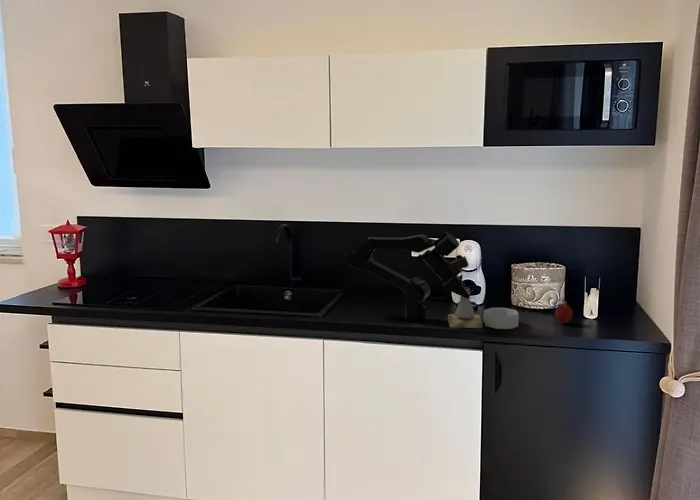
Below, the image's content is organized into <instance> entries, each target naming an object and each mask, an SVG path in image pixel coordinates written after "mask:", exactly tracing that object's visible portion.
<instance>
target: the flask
mask: <svg viewBox="0 0 700 500" xmlns="http://www.w3.org/2000/svg"><path fill="white" fill-rule="evenodd" d="M464 288H465V290H466V291H467V293H468V294H469V293H470V290H471V289H470V287H467V286H466V287H464ZM454 314H455V315H454V316H457V317H460V318H471V317H474V316H475V315H476V313H475V310H474V307H473V305H472V301H471V296H470V297H469V298H468V299H467V298H465V297H463V296H460V298H459V301H458V305H457V307H456V310H455V312H454Z"/></svg>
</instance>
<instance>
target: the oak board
mask: <svg viewBox="0 0 700 500" xmlns="http://www.w3.org/2000/svg"><path fill="white" fill-rule="evenodd" d="M454 315H455V313H451V314H447V321H448V325H449V327H450V328H459V329H460V328H463V329H465V328H467V329H470V328H472V329H483V323H484V321H483V320H482V318H481V317H480V314H475V316H474V317H471V318H460V317H457V316H454Z"/></svg>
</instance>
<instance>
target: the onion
mask: <svg viewBox="0 0 700 500" xmlns="http://www.w3.org/2000/svg"><path fill="white" fill-rule="evenodd" d="M573 312H574V311H573V310H572V308H571V306H569V305H568V303H567V301H564V302H562V303H561V304H559V306H558V307H557V308H556V309H555V311H554V315H555V319H556V320H557V321H559V322H560V323H561V325H562V324H563V325H565V324H567V323H568V322H570V321H571V320H572V318H573V316H574V314H573Z"/></svg>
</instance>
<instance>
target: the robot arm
mask: <svg viewBox="0 0 700 500" xmlns="http://www.w3.org/2000/svg"><path fill="white" fill-rule="evenodd" d="M459 246H460V243H459V241H458V240H457V238H456V237H455V236H453V235H452V234H450V233H449V232H448V231H444V232H443V233H441V235H440V236H439V238H437V239H433V238H429V236H427V235H426V234H423V233H422V234H417V235H411V236H407V237H376V236H372V237H368V238H366V240H365V241H364V242H363V244H362V245H360V246H359V247H358V248H357V249H356V250H355V251H353V252H351V253H350V254H349V255H348V257H347V262H348V266H350V267H351V268H354V269H357V270H360V271H364V272H369V273H371V274H373V275H375V276H377V277H379V278H381V279H382V280H384V281H385V282H388V283H390V284H392V286H393V285H394V286H395V287H397V288H400V289H401V290H402V291H403V292H404V294H405V295H406V296H405V297H404V298H403V299H402V301H403V305H404V306H405V317H404V318H405V322H407V323H408V322H410V323H411V322H412V323H413V322H414V323H415V322H416V323H417V322H418V323H424V322H425V319H426V306H425V305H424V302H425V301H426V299H427V298H428V297H429V296H430V295H431V287H430V285H429V284H428V283H427V280H424V279H421V278H420V277H418V276H415V277H412V278H408V277H407V276H405V275H403V274H400V273H399V272H397V271H395V270H393V269H391V268H389V267H387V266H386V265H384V264H383V263H382V264H381V263H380V262H378V261H376V260H375V258H374V257H373V256H372V254H373V253H374V252H375V250H376V249H382V250H383V249H386V250H387V249H393V250H394V249H395V250H399V249H400V250H405V251H408V252H411V253H412V252H413V253H422V252H423V251H424V253H423V254H418V255H417V260H418V261H417V264H421V263H422V262H425V263H426V265H427V266H428V267H429V268H430V269H431V270H432V271H433V274H434V275H436V276H438V278H439V279H440V280H441V282H442V290H443V291H444V292H445V293H448V292H450V293H453V294H456V295H458V296H460V297H461V296H463V297H465V298H467V299H468V298H469V297H470V298H471V293H470V292H469V294H468V293H467V291H466V290H465V288H464V287H467V286H466V284H465V283H464V282H463V270H462V269H465V268H468V267H469V261H468V259H467V257H466V256H463V255H461V254H457V255H456V256H455V259H454V260H452V261H450V260H449V259H445V258H444V256H445V257H448V256H449V255H450V254H451V253H453V252H454V251H455V250H456V249H457V248H458V247H459ZM431 248H433V249H431ZM461 273H462V274H461ZM459 274H460V276H459Z"/></svg>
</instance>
